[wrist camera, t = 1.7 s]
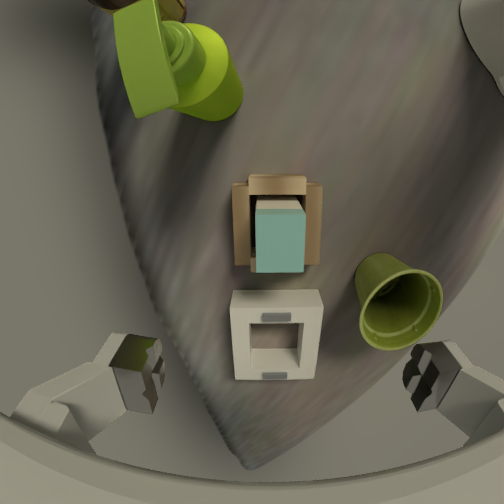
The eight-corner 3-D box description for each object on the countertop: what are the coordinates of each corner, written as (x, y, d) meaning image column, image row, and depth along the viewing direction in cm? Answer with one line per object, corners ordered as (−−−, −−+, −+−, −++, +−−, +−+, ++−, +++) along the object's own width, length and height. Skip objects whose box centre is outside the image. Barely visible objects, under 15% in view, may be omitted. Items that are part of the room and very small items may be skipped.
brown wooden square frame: (317, 174, 29) (322, 178, 27) (314, 260, 33) (318, 271, 30) (234, 175, 30) (231, 178, 27) (237, 260, 33) (235, 272, 30)
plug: (295, 196, 30) (305, 214, 23) (294, 241, 32) (303, 272, 25) (257, 196, 30) (255, 214, 23) (257, 241, 32) (256, 272, 25)
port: (317, 289, 34) (324, 309, 30) (310, 358, 38) (314, 381, 34) (233, 289, 35) (229, 310, 30) (237, 359, 39) (234, 382, 34)
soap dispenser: (196, 137, 28) (89, 137, 10) (181, 78, 26) (71, 9, 7) (251, 122, 28) (229, 86, 9) (235, 62, 25) (193, -46, 7)
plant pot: (366, 321, 36) (387, 364, 28) (324, 274, 33) (341, 315, 25) (420, 276, 33) (454, 310, 25) (385, 222, 31) (420, 250, 23)
